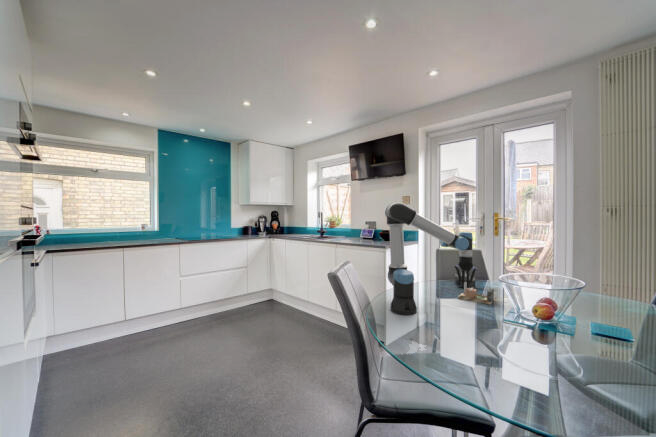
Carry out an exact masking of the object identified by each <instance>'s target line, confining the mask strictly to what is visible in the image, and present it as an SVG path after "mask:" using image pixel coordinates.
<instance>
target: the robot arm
mask: <svg viewBox="0 0 656 437" xmlns="http://www.w3.org/2000/svg"><path fill="white" fill-rule="evenodd" d="M384 212H385V213H384V215H385V217H386V218H385V219H386V225H387V226H388V227H389V246H390V247H389V248H390V249H389V250H390V251H389V252H390V264H389V265H388V272H387V279H388V281H389V283H390V284H391V285H392V287H393V290H392V291H393V297H392V300H391V303H390V312H392V313H394V314H398V315H403V316H407V315H408V316H410V315H415V314H416V313H417V311H418V308H417V305H416V302H415V296H414V295H415V294H414V292H415V290H414V289H415V285H414V284H415V282H414V281H415V276H414V273H413V272H412V271H410V270H408V266H407V264H405V240H404V226H405V225H406V226H410V225H411V226H412V227H414V228H416V229H419V230H420V231H422V232H424V233H426V234H427V235H430V236H431V237H434V238H435V239H436V240H439V245H440V246H441V247H442V248H451V249H456V250H458V251H459V254H458V255H459V256H458V258H459V259H458V261H459V262H458V264H456V265H455V266H454V268H455V270H456V272H457V274H458V278H459V281H461V282H462V288H463V292H464V293H466V289H468V288H469V283H471V282H473V278H474V276H475V275H476V271H477V270H478V267H475V266H474V264H473V238H474V237H473V233H472V232H470V231H460V232H459V233H458V234H457V233H455V232H453V231H451V230H449V229H447V228H445V227H443V226H442V225H439V224H437V223H435V222H433V221H432V220H430V219H428V218H426V217H425V216H423V215H420V214H419V213H418V211H417V210H415V209H413V208H412V207H410V206H408V205H407V204H405V203H402V202H393V203H390V204H388V206H387V207H386V208H385V210H384ZM460 269H461V270H460ZM471 270H472V271H471ZM470 271H471V275H470V276H471V278H470V281H469V274H470ZM461 272H462V278H461V274H460V273H461ZM465 273H466V278H467V282H465Z"/></svg>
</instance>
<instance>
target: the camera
mask: <svg viewBox="0 0 656 437" xmlns="http://www.w3.org/2000/svg"><path fill="white" fill-rule="evenodd" d="M460 274H461V278H462V271H460ZM454 276H455V277H454V283H455V285H456V286H457V287H459V288H461V287H462V282H461V281H459V278H458V274H457V271H456V272H455V274H454ZM470 278H471V275H470V273H469V281H470ZM465 282H467V278H466V272H465ZM462 288H463V287H462ZM469 288H473V289H476V276H475V275H474V278H473V282H471V283H469Z"/></svg>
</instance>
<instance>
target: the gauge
mask: <svg viewBox="0 0 656 437" xmlns="http://www.w3.org/2000/svg"><path fill="white" fill-rule="evenodd" d="M477 290H478V289H476V288H474V289H473V288H468V289H466V296H467V297H473V298H475V297H476V296H477V294H478V291H477Z"/></svg>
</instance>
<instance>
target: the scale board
mask: <svg viewBox="0 0 656 437" xmlns="http://www.w3.org/2000/svg"><path fill="white" fill-rule="evenodd" d="M494 292H495V290H494V288H490V287H489V289H488V290H487V291H486V295H483V294H478V293H477V296H476V297H475V298H473V297H467V296H466V293H464V291H463V292H461V293H460V294H458V295H457V299H458V300H464V301H470V302H474V303H481V304H484V305H485V304H486V305H492V304H493V302H494V301H495V297H494V294H495V293H494Z"/></svg>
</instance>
